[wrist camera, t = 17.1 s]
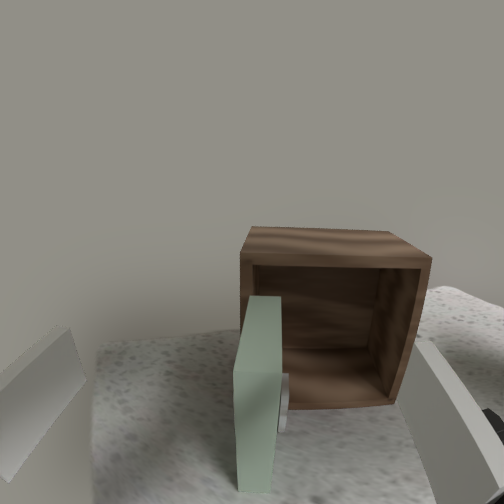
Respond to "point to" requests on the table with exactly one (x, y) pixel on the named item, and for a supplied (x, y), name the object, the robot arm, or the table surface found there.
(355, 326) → the cabinet
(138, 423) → the table surface
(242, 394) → the cabinet door
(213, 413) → the table surface
